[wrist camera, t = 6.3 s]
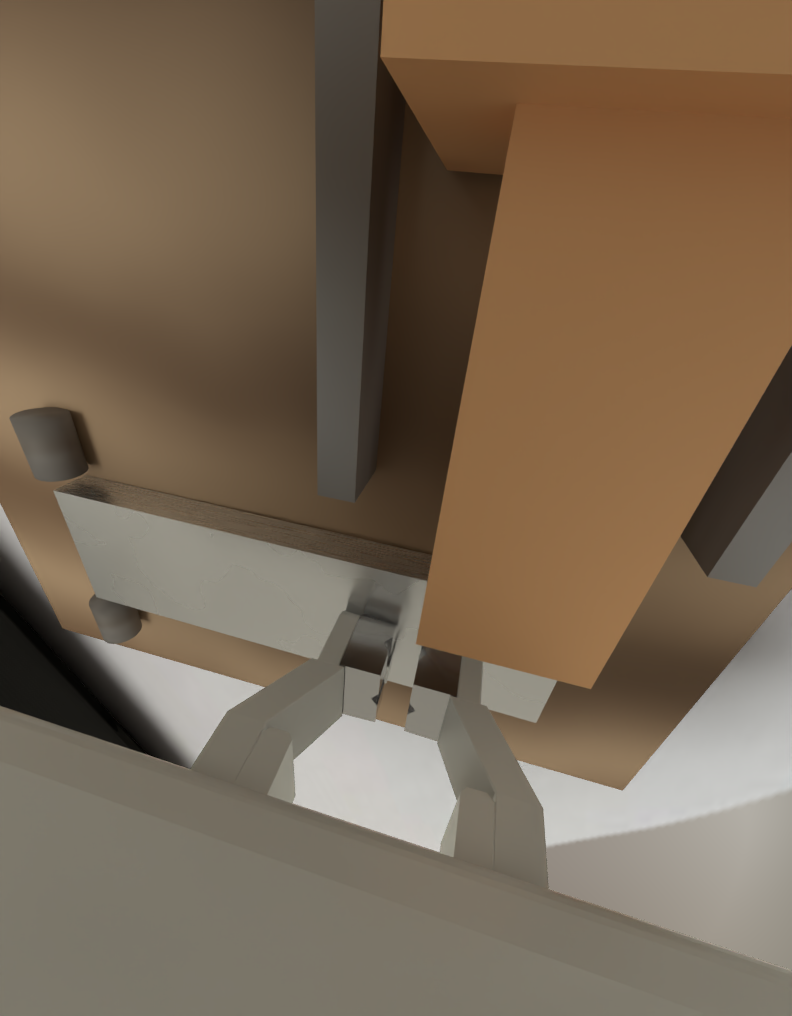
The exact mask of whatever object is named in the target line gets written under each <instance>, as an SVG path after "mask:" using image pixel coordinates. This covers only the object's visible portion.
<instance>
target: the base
mask: <svg viewBox="0 0 792 1016" xmlns="http://www.w3.org/2000/svg"><path fill="white" fill-rule="evenodd" d="M382 17H383V0H0V503H1V505H2V507H3V509H4V511H5V513H6V515H7V517H8V519H9V521H10V523H11V526H12V528H13V530H14V532H15V534H16V536H17V538H18V540H19V542H20V544H21V546H22V548H23V550H24V552H25V554H26V556H27V558H28V560H29V562H30V564H31V566H32V568H33V570H34V572H35V574H36V576H37V578H38V580H39V582H40V584H41V586H42V588H43V590H44V592H45V594H46V596H47V598H48V600H49V602H50V604H51V606H52V608H53V610H54V612H55V614H56V616H57V618H58V620H59V622H60V624H61V626H62V628H63V629H66V630H70V631H73V632H77V633H80V634H84V635H87V636H90V637H94V638H97V639H101V640H104V641H106V642H107V643H111V644H118V645H122V646H125V647H128V648H132V649H135V650H139V651H142V652H146V653H149V654H153V655H156V656H160V657H163V658H166V659H170V660H173V661H177V662H180V663H184V664H187V665H191V666H194V667H198V668H201V669H205V670H208V671H211V672H215V673H218V674H222V675H225V676H229V677H232V678H236V679H239V680H243V681H246V682H249V683H253V684H256V685H260V686H263V687H267V686H268V685H270V684H272V683H273V682H275V681H276V680H278V679H280V678H281V677H283V676H284V675H286V674H287V673H289V672H291V671H292V670H294V669H295V668H297V667H299V666H300V665H302V664H303V663H305V662H306V661H308V660H310V659H311V658H307V657H304V656H300V655H297V654H293V653H290V652H286V651H283V650H279V649H276V648H272V647H269V646H265V645H262V644H258V643H255V642H251V641H248V640H244V639H241V638H237V637H234V636H230V635H227V634H223V633H220V632H216V631H213V630H209V629H206V628H202V627H199V626H195V625H192V624H188V623H185V622H181V621H178V620H174V619H171V618H167V617H164V616H160V615H157V614H153V613H150V612H146V611H143V610H139V609H136V608H132V607H129V606H125V605H122V604H119V603H115V602H112V601H108V600H105V599H101V598H98V597H96V595H95V592H94V590H93V587H92V585H91V582H90V580H89V577H88V575H87V573H86V570H85V568H84V565H83V563H82V560H81V558H80V555H79V553H78V550H77V548H76V546H75V543H74V541H73V538H72V536H71V533H70V531H69V528H68V526H67V523H66V521H65V518H64V516H63V514H62V511H61V509H60V506H59V504H58V501H57V499H56V496H55V494H54V491H53V490H55V489H57V488H59V487H61V486H63V485H65V484H68V483H70V482H72V481H74V480H76V479H78V478H80V477H82V476H84V475H89V476H93V477H97V478H102V479H106V480H110V481H114V482H119V483H123V484H127V485H132V486H136V487H140V488H145V489H149V490H153V491H158V492H162V493H166V494H171V495H175V496H179V497H183V498H188V499H192V500H196V501H201V502H205V503H209V504H214V505H218V506H222V507H227V508H231V509H235V510H239V511H244V512H248V513H252V514H257V515H261V516H265V517H270V518H274V519H278V520H283V521H287V522H291V523H296V524H300V525H304V526H308V527H313V528H317V529H321V530H326V531H330V532H334V533H339V534H343V535H347V536H352V537H356V538H360V539H364V540H369V541H373V542H377V543H382V544H386V545H390V546H395V547H399V548H403V549H408V550H412V551H416V552H421V553H425V554H429V555H432V554H433V549H434V543H435V538H436V533H437V527H438V522H439V517H440V511H441V506H442V500H443V495H444V490H445V484H446V479H447V474H448V468H449V463H450V458H451V452H452V447H453V441H454V436H455V431H456V425H457V420H458V415H459V409H460V404H461V399H462V393H463V388H464V382H465V377H466V372H467V366H468V361H469V356H470V350H471V345H472V340H473V334H474V329H475V323H476V318H477V313H478V307H479V302H480V297H481V291H482V286H483V281H484V275H485V270H486V264H487V259H488V254H489V248H490V243H491V238H492V232H493V227H494V222H495V216H496V211H497V205H498V200H499V195H500V189H501V184H502V179H503V175H497V174H485V173H473V172H461V171H449V170H447V169H446V168H445V166H444V164H443V162H442V161H441V159H440V157H439V156H438V154H437V152H436V151H435V149H434V147H433V146H432V144H431V142H430V140H429V139H428V137H427V135H426V134H425V132H424V130H423V129H422V127H421V125H420V123H419V122H418V120H417V118H416V117H415V115H414V113H413V112H412V110H411V108H410V107H409V105H408V103H407V101H406V100H405V98H404V96H403V95H402V93H401V91H400V90H399V88H398V86H397V84H396V83H395V81H394V79H393V78H392V76H391V74H390V73H389V71H388V69H387V68H386V66H385V64H384V62H383V61H382V59H381V57H380V54H381V36H382ZM791 589H792V346H791V347H790V349H789V351H788V353H787V354H786V356H785V358H784V359H783V361H782V363H781V365H780V366H779V368H778V370H777V371H776V373H775V375H774V376H773V378H772V380H771V382H770V383H769V385H768V387H767V388H766V390H765V392H764V394H763V395H762V397H761V399H760V400H759V402H758V404H757V406H756V407H755V409H754V411H753V412H752V414H751V416H750V418H749V419H748V421H747V423H746V424H745V426H744V428H743V430H742V431H741V433H740V435H739V436H738V438H737V440H736V442H735V443H734V445H733V447H732V448H731V450H730V452H729V453H728V455H727V457H726V459H725V460H724V462H723V464H722V465H721V467H720V469H719V471H718V472H717V474H716V476H715V477H714V479H713V481H712V483H711V484H710V486H709V488H708V489H707V491H706V493H705V495H704V496H703V498H702V500H701V501H700V503H699V505H698V507H697V508H696V510H695V512H694V513H693V515H692V517H691V519H690V520H689V522H688V524H687V525H686V527H685V529H684V530H683V532H682V534H681V536H680V537H679V539H678V541H677V542H676V544H675V546H674V548H673V549H672V551H671V553H670V554H669V556H668V558H667V560H666V561H665V563H664V565H663V566H662V568H661V570H660V572H659V573H658V575H657V577H656V578H655V580H654V582H653V584H652V585H651V587H650V589H649V590H648V592H647V594H646V596H645V597H644V599H643V601H642V602H641V604H640V606H639V607H638V609H637V611H636V613H635V614H634V616H633V618H632V619H631V621H630V623H629V625H628V626H627V628H626V630H625V631H624V633H623V635H622V637H621V638H620V640H619V642H618V643H617V645H616V647H615V649H614V650H613V652H612V654H611V655H610V657H609V659H608V661H607V662H606V664H605V666H604V667H603V669H602V671H601V673H600V674H599V676H598V678H597V679H596V681H595V683H594V684H593V686H592V688H591V689H588V688H584V687H580V686H576V685H572V684H569V683H565V682H561V681H557V682H556V684H555V686H554V688H553V690H552V692H551V694H550V696H549V698H548V700H547V702H546V704H545V706H544V708H543V710H542V712H541V714H540V716H539V718H538V720H537V722H536V723H534V722H531V721H527V720H524V719H520V718H517V717H513V716H510V715H506V714H503V713H499V712H496V711H492V710H489V711H490V713H491V714H492V716H493V718H494V720H495V722H496V724H497V725H498V727H499V729H500V731H501V733H502V735H503V736H504V738H505V740H506V742H507V744H508V745H509V747H510V749H511V751H512V753H513V755H514V756H515V758H516V760H519V761H523V762H526V763H529V764H533V765H536V766H540V767H543V768H547V769H550V770H554V771H557V772H561V773H564V774H567V775H571V776H574V777H578V778H581V779H585V780H588V781H592V782H595V783H599V784H602V785H606V786H609V787H612V788H616V789H619V790H623V789H624V788H625V787H626V786H627V784H628V783H629V782H630V781H631V780H632V779H633V777H634V776H635V775H636V774H637V773H638V771H639V770H640V769H641V768H642V767H643V765H644V764H645V763H646V762H647V761H648V759H649V758H650V757H651V756H652V755H653V753H654V752H655V751H656V750H657V749H658V747H659V746H660V745H661V744H662V743H663V741H664V740H665V739H666V738H667V737H668V736H669V734H670V733H671V732H672V731H673V730H674V728H675V727H676V726H677V725H678V724H679V722H680V721H681V720H682V719H683V718H684V716H685V715H686V714H687V713H688V712H689V710H690V709H691V708H692V707H693V706H694V704H695V703H696V702H697V701H698V700H699V698H700V697H701V696H702V695H703V694H704V693H705V691H706V690H707V689H708V688H709V687H710V685H711V684H712V683H713V682H714V681H715V679H716V678H717V677H718V676H719V675H720V673H721V672H722V671H723V670H724V669H725V667H726V666H727V665H728V664H729V663H730V661H731V660H732V659H733V658H734V657H735V655H736V654H737V653H738V652H739V651H740V650H741V648H742V647H743V646H744V645H745V644H746V642H747V641H748V640H749V639H750V638H751V636H752V635H753V634H754V633H755V632H756V630H757V629H758V628H759V627H760V626H761V624H762V623H763V622H764V621H765V620H766V618H767V617H768V616H769V615H770V614H771V612H772V611H773V610H774V609H775V608H776V607H777V605H778V604H779V603H780V602H781V601H782V599H783V598H784V597H785V596H786V595H787V593H788V592H789V591H790V590H791ZM411 693H412V687H408V686H405V685H401V684H398V683H394V682H391V681H387V683H385V684H384V689H383V696H382V700H381V703H380V707H379V710H378V714H377V717H376V719H377V720H381V721H384V722H388V723H391V724H395V725H398V726H402V727H405V724H406V718H407V713H408V709H409V704H410V698H411Z"/></svg>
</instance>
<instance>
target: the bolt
mask: <svg viewBox="0 0 792 1016" xmlns="http://www.w3.org/2000/svg"><path fill="white" fill-rule="evenodd" d="M380 57H381V59H382V61H383V62H384V64H385V66H386V68H387V69H388V71H389V73H390V74H391V76H392V78H393V79H394V81H395V83H396V84H397V86H398V88H399V90H400V91H401V93H402V95H403V96H404V98H405V100H406V101H407V103H408V105H409V107H410V108H411V110H412V112H413V113H414V115H415V117H416V118H417V120H418V122H419V123H420V125H421V127H422V129H423V130H424V132H425V134H426V135H427V137H428V139H429V140H430V142H431V144H432V146H433V147H434V149H435V151H436V152H437V154H438V156H439V157H440V159H441V161H442V162H443V164H444V166H445V168H446V169H447V170H449V171H461V172H473V173H485V174H497V175H503V179H502V184H501V189H500V195H499V200H498V205H497V211H496V216H495V222H494V227H493V232H492V238H491V243H490V248H489V254H488V259H487V264H486V270H485V275H484V281H483V286H482V291H481V297H480V302H479V307H478V313H477V318H476V323H475V329H474V334H473V340H472V345H471V350H470V356H469V361H468V366H467V372H466V377H465V382H464V388H463V393H462V399H461V404H460V409H459V415H458V420H457V425H456V431H455V436H454V441H453V447H452V452H451V458H450V463H449V468H448V474H447V479H446V484H445V490H444V495H443V500H442V506H441V511H440V517H439V522H438V527H437V533H436V538H435V543H434V549H433V554H432V559H431V565H430V570H429V576H428V581H427V586H426V592H425V597H424V602H423V608H422V613H421V618H420V624H419V629H418V635H417V640H416V644H417V645H421V646H425V647H429V648H433V649H437V650H440V651H444V652H448V653H452V654H456V655H460V656H464V657H468V658H471V659H475V660H479V661H483V662H487V663H491V664H495V665H499V666H503V667H506V668H510V669H514V670H518V671H522V672H526V673H530V674H534V675H538V676H541V677H545V678H549V679H553V680H557V681H561V682H565V683H569V684H572V685H576V686H580V687H584V688H588V689H591V688H592V686H593V684H594V683H595V681H596V679H597V678H598V676H599V674H600V673H601V671H602V669H603V667H604V666H605V664H606V662H607V661H608V659H609V657H610V655H611V654H612V652H613V650H614V649H615V647H616V645H617V643H618V642H619V640H620V638H621V637H622V635H623V633H624V631H625V630H626V628H627V626H628V625H629V623H630V621H631V619H632V618H633V616H634V614H635V613H636V611H637V609H638V607H639V606H640V604H641V602H642V601H643V599H644V597H645V596H646V594H647V592H648V590H649V589H650V587H651V585H652V584H653V582H654V580H655V578H656V577H657V575H658V573H659V572H660V570H661V568H662V566H663V565H664V563H665V561H666V560H667V558H668V556H669V554H670V553H671V551H672V549H673V548H674V546H675V544H676V542H677V541H678V539H679V537H680V536H681V534H682V532H683V530H684V529H685V527H686V525H687V524H688V522H689V520H690V519H691V517H692V515H693V513H694V512H695V510H696V508H697V507H698V505H699V503H700V501H701V500H702V498H703V496H704V495H705V493H706V491H707V489H708V488H709V486H710V484H711V483H712V481H713V479H714V477H715V476H716V474H717V472H718V471H719V469H720V467H721V465H722V464H723V462H724V460H725V459H726V457H727V455H728V453H729V452H730V450H731V448H732V447H733V445H734V443H735V442H736V440H737V438H738V436H739V435H740V433H741V431H742V430H743V428H744V426H745V424H746V423H747V421H748V419H749V418H750V416H751V414H752V412H753V411H754V409H755V407H756V406H757V404H758V402H759V400H760V399H761V397H762V395H763V394H764V392H765V390H766V388H767V387H768V385H769V383H770V382H771V380H772V378H773V376H774V375H775V373H776V371H777V370H778V368H779V366H780V365H781V363H782V361H783V359H784V358H785V356H786V354H787V353H788V351H789V349H790V347H791V346H792V0H383V17H382V36H381V54H380Z"/></svg>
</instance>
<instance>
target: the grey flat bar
mask: <svg viewBox="0 0 792 1016" xmlns="http://www.w3.org/2000/svg"><path fill="white" fill-rule="evenodd" d="M53 491H54V494H55V496H56V499H57V501H58V504H59V506H60V509H61V511H62V514H63V516H64V518H65V521H66V523H67V526H68V528H69V531H70V533H71V536H72V538H73V541H74V543H75V546H76V548H77V550H78V553H79V555H80V558H81V560H82V563H83V565H84V568H85V570H86V573H87V575H88V577H89V580H90V582H91V585H92V587H93V590H94V592H95V595H96V597H98V598H101V599H105V600H108V601H112V602H115V603H119V604H122V605H125V606H129V607H132V608H136V609H139V610H143V611H146V612H150V613H153V614H157V615H160V616H164V617H167V618H171V619H174V620H178V621H181V622H185V623H188V624H192V625H195V626H199V627H202V628H206V629H209V630H213V631H216V632H220V633H223V634H227V635H230V636H234V637H237V638H241V639H244V640H248V641H251V642H255V643H258V644H262V645H265V646H269V647H272V648H276V649H279V650H283V651H286V652H290V653H293V654H297V655H300V656H304V657H307V658H314V659H318V657H319V655H320V653H321V651H322V649H323V647H324V645H325V643H326V641H327V639H328V637H329V635H330V633H331V631H332V629H333V627H334V625H335V623H336V621H337V619H338V616H339V615H340V614H341V612H342V611H347V612H350V613H354V614H358V615H362V616H366V617H369V618H373V619H376V620H380V621H384V622H387V623H391V624H394V625H397V635H396V638H395V642H394V646H395V649H394V655H393V660H392V664H391V668H390V672H389V676H388V680H387V681H391V682H394V683H398V684H401V685H405V686H408V687H412V688H413V683H414V679H415V674H416V670H417V665H418V660H419V657H420V652H421V647H422V646H421V645H417V644H416V640H417V635H418V629H419V624H420V618H421V613H422V608H423V602H424V597H425V592H426V586H427V581H428V576H429V570H430V565H431V559H432V555H429V554H425V553H421V552H416V551H412V550H408V549H403V548H399V547H395V546H390V545H386V544H382V543H377V542H373V541H369V540H364V539H360V538H356V537H352V536H347V535H343V534H339V533H334V532H330V531H326V530H321V529H317V528H313V527H308V526H304V525H300V524H296V523H291V522H287V521H283V520H278V519H274V518H270V517H265V516H261V515H257V514H252V513H248V512H244V511H239V510H235V509H231V508H227V507H222V506H218V505H214V504H209V503H205V502H201V501H196V500H192V499H188V498H183V497H179V496H175V495H171V494H166V493H162V492H158V491H153V490H149V489H145V488H140V487H136V486H132V485H127V484H123V483H119V482H114V481H110V480H106V479H102V478H97V477H93V476H89V475H84V476H82V477H80V478H78V479H76V480H74V481H72V482H70V483H68V484H65V485H63V486H61V487H59V488H57V489H55V490H53ZM556 682H557V680H553V679H549V678H545V677H541V676H538V675H534V674H530V673H526V672H522V671H518V670H514V669H510V668H506V667H503V666H499V665H495V664H491V663H487V662H483V674H482V692H481V704H482V705H485V706H487V707H488V709H489V710H492V711H496V712H499V713H503V714H506V715H510V716H513V717H517V718H520V719H524V720H527V721H531V722H534V723H536V722H537V720H538V718H539V716H540V714H541V712H542V710H543V708H544V706H545V704H546V702H547V700H548V698H549V696H550V694H551V692H552V690H553V688H554V686H555V684H556Z"/></svg>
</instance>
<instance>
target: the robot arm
mask: <svg viewBox="0 0 792 1016" xmlns="http://www.w3.org/2000/svg"><path fill="white" fill-rule="evenodd" d="M396 635H397V625H394V624H391V623H387V622H384V621H380V620H376V619H373V618H369V617H366V616H362V615H358V614H354V613H350V612H347V611H342V612H341V614H340V615H339V616H338V619H337V621H336V623H335V625H334V627H333V629H332V631H331V633H330V635H329V637H328V639H327V641H326V643H325V645H324V647H323V649H322V651H321V653H320V655H319V657H318V659H314V658H311V659H310V660H308V661H306V662H305V663H303V664H302V665H300V666H299V667H297V668H295V669H294V670H292V671H291V672H289V673H287V674H286V675H284V676H283V677H281V678H280V679H278V680H276V681H275V682H273V683H272V684H270V685H268V686H267V687H265V688H264V689H262V690H260V691H259V692H257V693H256V694H254V695H253V696H251V697H249V698H248V699H246V700H245V701H243V702H241V703H240V704H238V705H237V706H235V707H234V708H232V709H230V710H229V711H227V713H226V714H225V716H224V717H223V719H222V721H221V722H220V724H219V725H218V727H217V728H216V730H215V731H214V733H213V735H212V736H211V738H210V739H209V741H208V742H207V744H206V745H205V747H204V748H203V750H202V752H201V753H200V755H199V756H198V758H197V759H196V761H195V762H194V764H193V766H192V767H191V769H188V768H185V767H182V766H179V765H176V764H173V763H170V762H167V761H164V760H161V759H158V758H155V757H152V756H149V755H146V754H143V753H140V752H137V751H134V750H131V749H128V748H125V747H122V746H119V745H116V744H113V743H110V742H107V741H104V740H101V739H98V738H95V737H92V736H89V735H86V734H83V733H80V732H77V731H74V730H71V729H68V728H65V727H62V726H59V725H56V724H53V723H50V722H47V721H44V720H41V719H38V718H35V717H32V716H29V715H26V714H23V713H20V712H17V711H14V710H11V709H8V708H5V707H2V706H0V1016H792V970H790V969H787V968H784V967H781V966H778V965H775V964H772V963H769V962H766V961H763V960H760V959H757V958H754V957H751V956H748V955H745V954H742V953H739V952H736V951H733V950H730V949H727V948H724V947H721V946H718V945H715V944H712V943H709V942H706V941H703V940H700V939H697V938H694V937H691V936H688V935H685V934H682V933H679V932H676V931H673V930H670V929H667V928H664V927H661V926H658V925H655V924H652V923H649V922H646V921H643V920H640V919H637V918H634V917H631V916H628V915H625V914H622V913H619V912H616V911H613V910H610V909H607V908H604V907H601V906H598V905H595V904H592V903H589V902H586V901H583V900H580V899H577V898H574V897H571V896H568V895H565V894H562V893H559V892H556V891H553V890H550V889H549V887H548V872H547V858H546V844H545V829H544V815H543V808H542V806H541V804H540V802H539V800H538V798H537V797H536V795H535V793H534V791H533V789H532V788H531V786H530V784H529V782H528V780H527V778H526V777H525V775H524V773H523V771H522V769H521V767H520V766H519V764H518V762H517V760H516V758H515V756H514V755H513V753H512V751H511V749H510V747H509V745H508V744H507V742H506V740H505V738H504V736H503V735H502V733H501V731H500V729H499V727H498V725H497V724H496V722H495V720H494V718H493V716H492V714H491V713H490V711H489V709H488V707H487V706H485V705H482V704H481V692H482V674H483V661H479V660H475V659H471V658H468V657H464V656H460V655H456V654H452V653H448V652H444V651H440V650H437V649H433V648H429V647H425V646H422V647H421V652H420V657H419V660H418V665H417V670H416V674H415V679H414V683H413V688H412V693H411V698H410V704H409V709H408V713H407V718H406V724H405V730H404V731H407V732H410V733H413V734H416V735H419V736H422V737H425V738H429V739H432V740H435V741H438V743H437V744H438V747H439V750H440V752H441V755H442V758H443V761H444V764H445V767H446V770H447V773H448V776H449V779H450V782H451V785H452V788H453V791H454V794H455V796H456V799H457V802H456V805H455V808H454V810H453V813H452V815H451V818H450V821H449V823H448V826H447V828H446V831H445V834H444V836H443V839H442V841H441V846H440V852H437V851H434V850H431V849H428V848H425V847H422V846H419V845H416V844H413V843H410V842H407V841H404V840H401V839H398V838H395V837H392V836H389V835H386V834H383V833H380V832H377V831H374V830H371V829H368V828H365V827H362V826H359V825H356V824H353V823H350V822H347V821H344V820H341V819H338V818H335V817H332V816H329V815H326V814H323V813H320V812H317V811H314V810H311V809H308V808H305V807H302V806H299V805H296V804H293V800H294V798H295V781H294V764H293V760H294V759H295V758H296V757H297V756H298V755H299V754H301V753H302V752H303V751H304V750H305V749H306V748H307V747H308V746H309V745H310V744H312V743H313V742H314V741H315V740H316V739H317V738H318V737H319V736H320V735H321V734H323V733H324V732H325V731H326V730H327V729H328V728H329V727H330V726H331V725H332V724H334V723H335V722H336V721H337V720H338V719H339V718H340V717H341V716H342V714H346V715H350V716H354V717H357V718H361V719H365V720H369V721H373V722H375V720H376V717H377V714H378V710H379V707H380V703H381V700H382V696H383V689H384V684H385V683H387V680H388V676H389V672H390V668H391V664H392V660H393V655H394V649H395V646H394V642H395V638H396Z"/></svg>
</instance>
